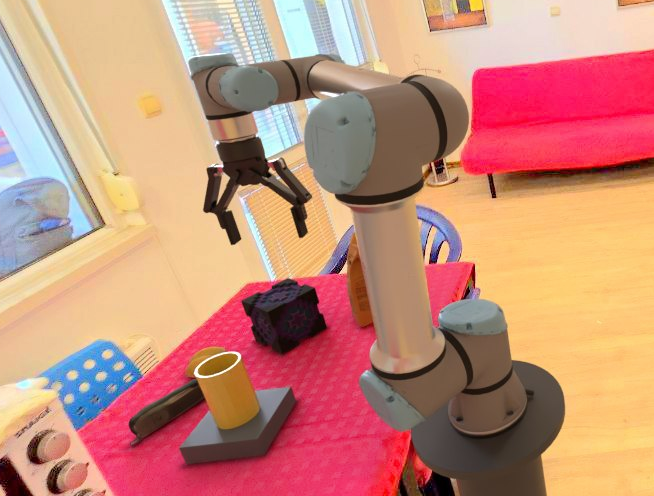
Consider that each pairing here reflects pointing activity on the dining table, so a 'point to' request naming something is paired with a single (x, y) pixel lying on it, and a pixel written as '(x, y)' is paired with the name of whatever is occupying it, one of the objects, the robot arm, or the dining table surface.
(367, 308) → the coffee package
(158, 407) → the dark pencil case
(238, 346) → the dining table surface
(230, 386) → the yellow cup
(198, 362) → the bread roll
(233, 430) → the grey block
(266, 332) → the energy cube
